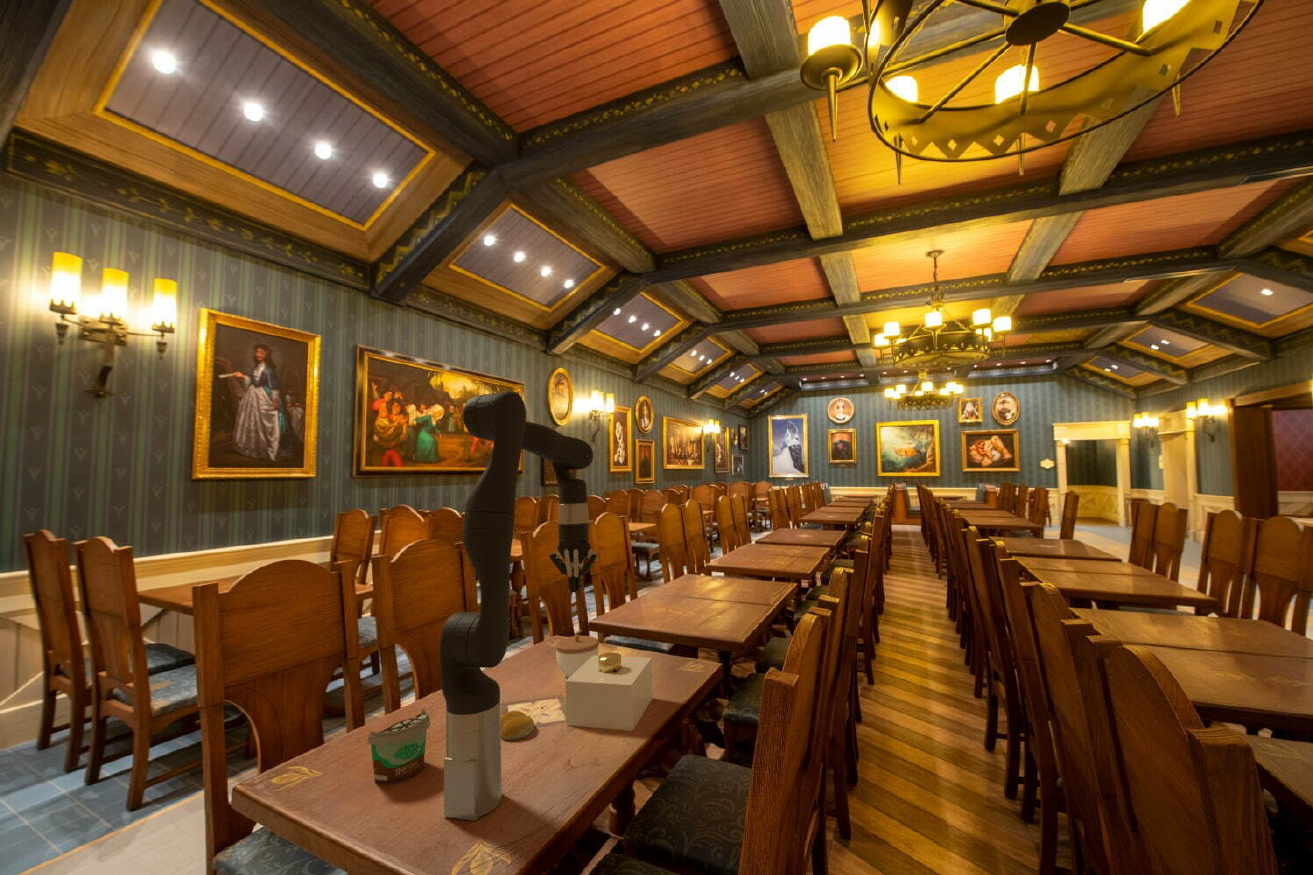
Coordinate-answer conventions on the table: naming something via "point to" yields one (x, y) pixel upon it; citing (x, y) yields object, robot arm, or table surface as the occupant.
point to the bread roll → (515, 725)
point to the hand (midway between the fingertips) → (575, 591)
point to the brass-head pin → (609, 662)
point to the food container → (399, 749)
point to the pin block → (609, 694)
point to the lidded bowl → (575, 652)
